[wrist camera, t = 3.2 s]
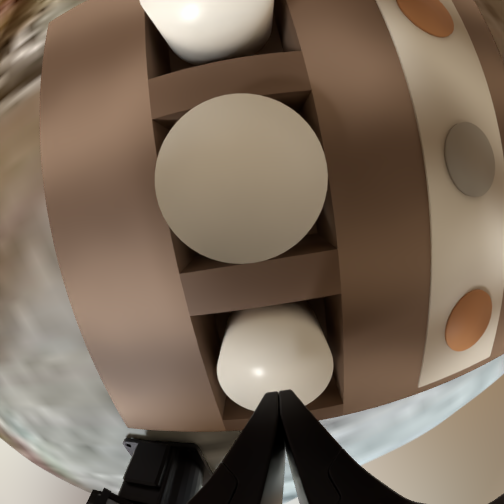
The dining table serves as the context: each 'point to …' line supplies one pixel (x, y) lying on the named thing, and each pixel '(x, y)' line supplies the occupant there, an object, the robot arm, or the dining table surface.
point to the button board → (327, 224)
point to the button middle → (241, 178)
